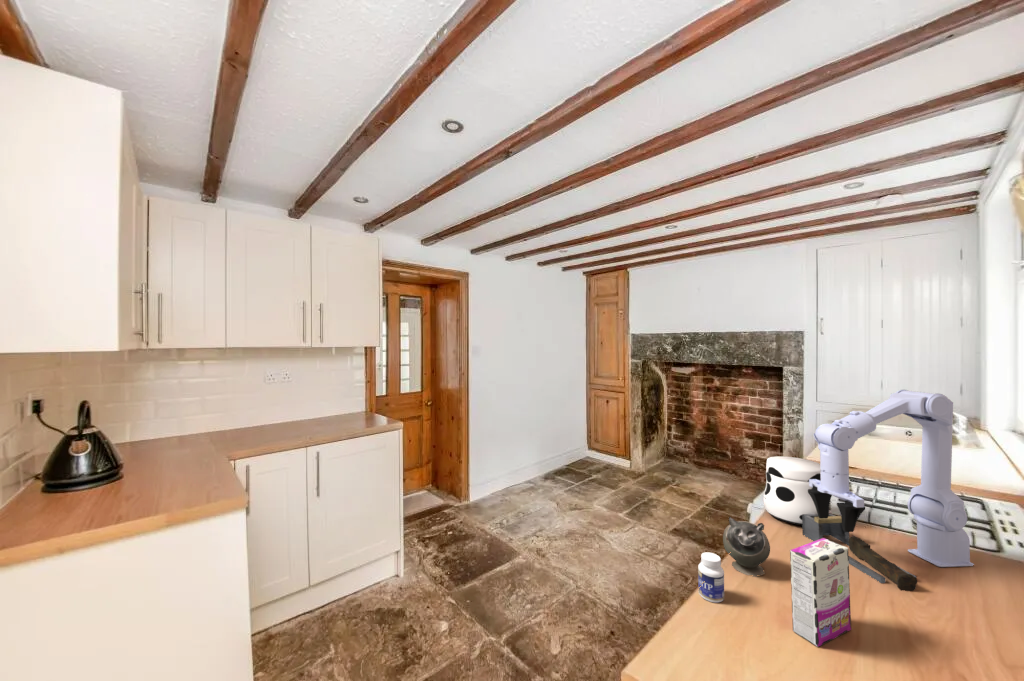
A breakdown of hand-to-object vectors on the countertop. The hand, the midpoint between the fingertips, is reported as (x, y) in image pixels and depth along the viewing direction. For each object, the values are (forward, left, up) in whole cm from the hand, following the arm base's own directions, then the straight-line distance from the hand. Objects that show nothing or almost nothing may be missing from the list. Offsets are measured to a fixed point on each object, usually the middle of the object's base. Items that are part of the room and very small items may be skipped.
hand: (835, 524), depth 103 cm
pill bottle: (+39, +11, -10) cm, 42 cm away
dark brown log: (-8, +3, -10) cm, 13 cm away
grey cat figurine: (+24, 0, -10) cm, 26 cm away
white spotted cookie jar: (-9, -26, -10) cm, 29 cm away
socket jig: (-8, -3, -10) cm, 13 cm away
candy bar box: (+23, +23, -10) cm, 34 cm away
